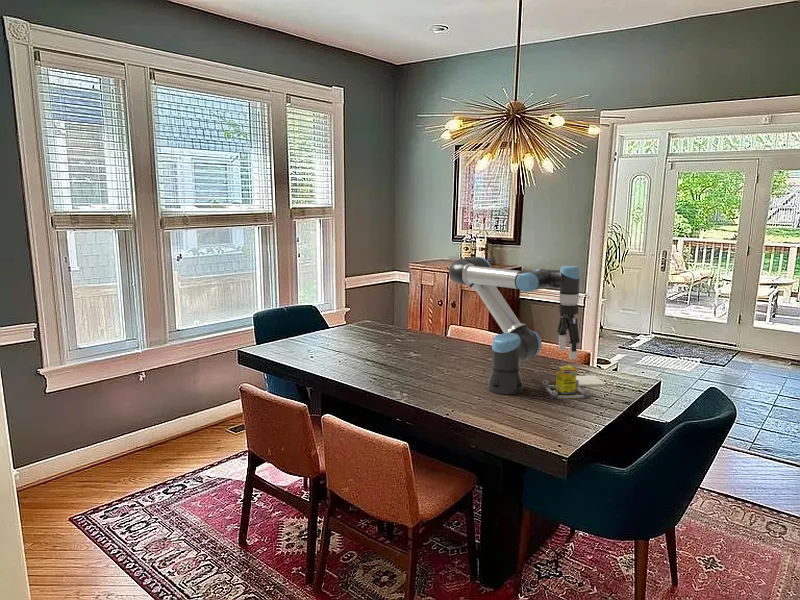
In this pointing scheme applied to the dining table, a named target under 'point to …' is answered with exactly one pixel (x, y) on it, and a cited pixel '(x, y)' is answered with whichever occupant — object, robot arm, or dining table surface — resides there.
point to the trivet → (589, 381)
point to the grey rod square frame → (555, 395)
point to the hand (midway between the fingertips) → (567, 354)
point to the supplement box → (565, 380)
